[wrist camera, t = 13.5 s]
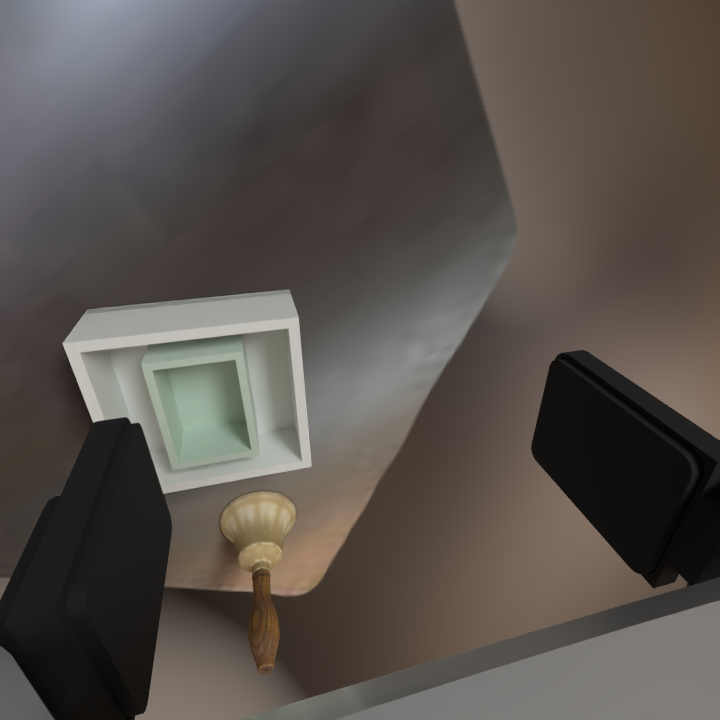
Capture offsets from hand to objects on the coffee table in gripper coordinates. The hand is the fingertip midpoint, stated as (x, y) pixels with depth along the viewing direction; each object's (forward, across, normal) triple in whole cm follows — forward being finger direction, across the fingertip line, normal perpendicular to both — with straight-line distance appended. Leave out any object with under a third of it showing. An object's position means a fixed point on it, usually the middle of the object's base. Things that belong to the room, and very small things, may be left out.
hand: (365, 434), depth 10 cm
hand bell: (+28, +5, +33) cm, 44 cm away
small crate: (+27, +7, +14) cm, 31 cm away
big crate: (+28, +7, +14) cm, 32 cm away
